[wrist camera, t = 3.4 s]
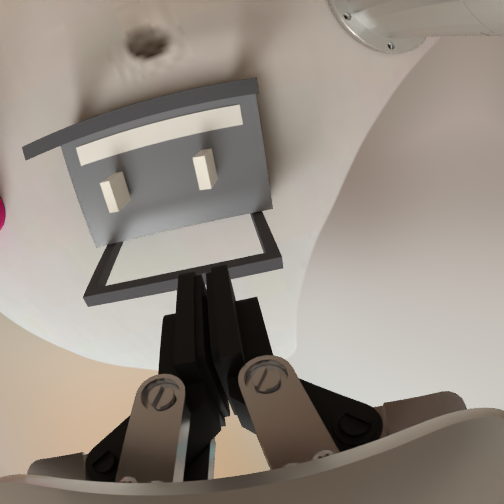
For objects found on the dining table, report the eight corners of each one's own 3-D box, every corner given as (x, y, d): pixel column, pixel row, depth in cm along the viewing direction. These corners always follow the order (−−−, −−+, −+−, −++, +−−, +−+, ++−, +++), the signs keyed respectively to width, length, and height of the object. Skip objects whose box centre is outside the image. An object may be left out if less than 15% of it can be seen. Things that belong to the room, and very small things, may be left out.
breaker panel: (250, 92, 27) (255, 92, 24) (266, 197, 32) (273, 209, 30) (72, 138, 26) (60, 144, 23) (103, 234, 31) (96, 248, 29)
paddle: (122, 171, 25) (109, 180, 23) (131, 199, 27) (118, 211, 24) (113, 173, 25) (99, 183, 23) (122, 201, 27) (109, 213, 25)
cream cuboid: (211, 148, 25) (204, 155, 23) (217, 178, 27) (211, 188, 25) (200, 150, 26) (192, 157, 24) (207, 180, 27) (199, 190, 25)
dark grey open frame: (237, 80, 26) (256, 77, 16) (259, 210, 33) (283, 268, 23) (77, 123, 25) (21, 147, 16) (115, 242, 32) (88, 306, 23)
